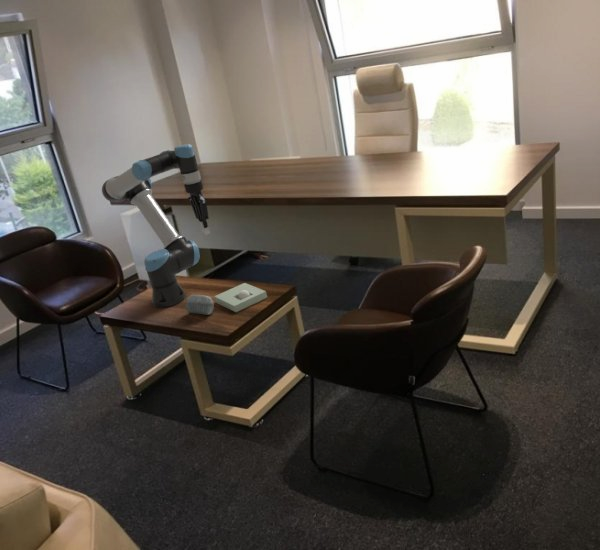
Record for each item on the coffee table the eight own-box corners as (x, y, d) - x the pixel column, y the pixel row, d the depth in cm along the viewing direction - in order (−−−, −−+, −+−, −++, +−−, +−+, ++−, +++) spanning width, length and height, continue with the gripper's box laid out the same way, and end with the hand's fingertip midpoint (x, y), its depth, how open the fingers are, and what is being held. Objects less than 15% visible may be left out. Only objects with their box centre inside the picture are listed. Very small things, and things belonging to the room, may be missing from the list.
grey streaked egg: (177, 310, 254) (184, 288, 252) (193, 310, 261) (199, 289, 260) (199, 322, 246) (206, 299, 245) (215, 321, 254) (221, 299, 252)
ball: (243, 298, 251) (242, 305, 255) (252, 293, 253) (251, 301, 257) (236, 290, 253) (235, 298, 257) (246, 286, 256) (245, 293, 259)
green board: (215, 302, 262) (214, 296, 261) (246, 288, 270) (244, 282, 269) (236, 312, 248) (234, 306, 247) (267, 297, 256) (265, 291, 254)
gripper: (178, 183, 252) (192, 235, 261) (191, 185, 242) (206, 239, 250) (193, 178, 256) (207, 229, 264) (207, 180, 245) (221, 233, 254)
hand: (206, 234), depth 257 cm, fingers closed
